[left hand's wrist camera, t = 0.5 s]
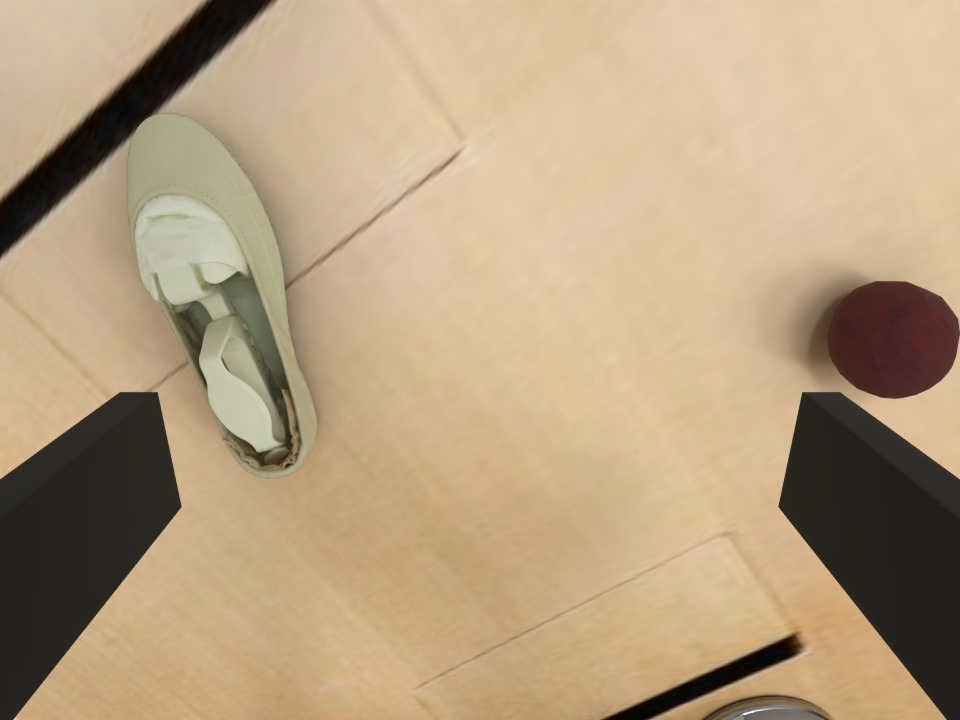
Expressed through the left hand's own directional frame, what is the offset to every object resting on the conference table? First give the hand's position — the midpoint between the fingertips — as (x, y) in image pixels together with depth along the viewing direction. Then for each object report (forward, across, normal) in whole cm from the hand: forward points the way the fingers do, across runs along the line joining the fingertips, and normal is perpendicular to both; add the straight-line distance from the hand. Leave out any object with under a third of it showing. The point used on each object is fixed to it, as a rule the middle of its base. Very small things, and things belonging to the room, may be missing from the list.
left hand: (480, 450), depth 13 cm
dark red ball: (+30, +27, -6) cm, 41 cm away
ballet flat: (+30, -16, -5) cm, 35 cm away
